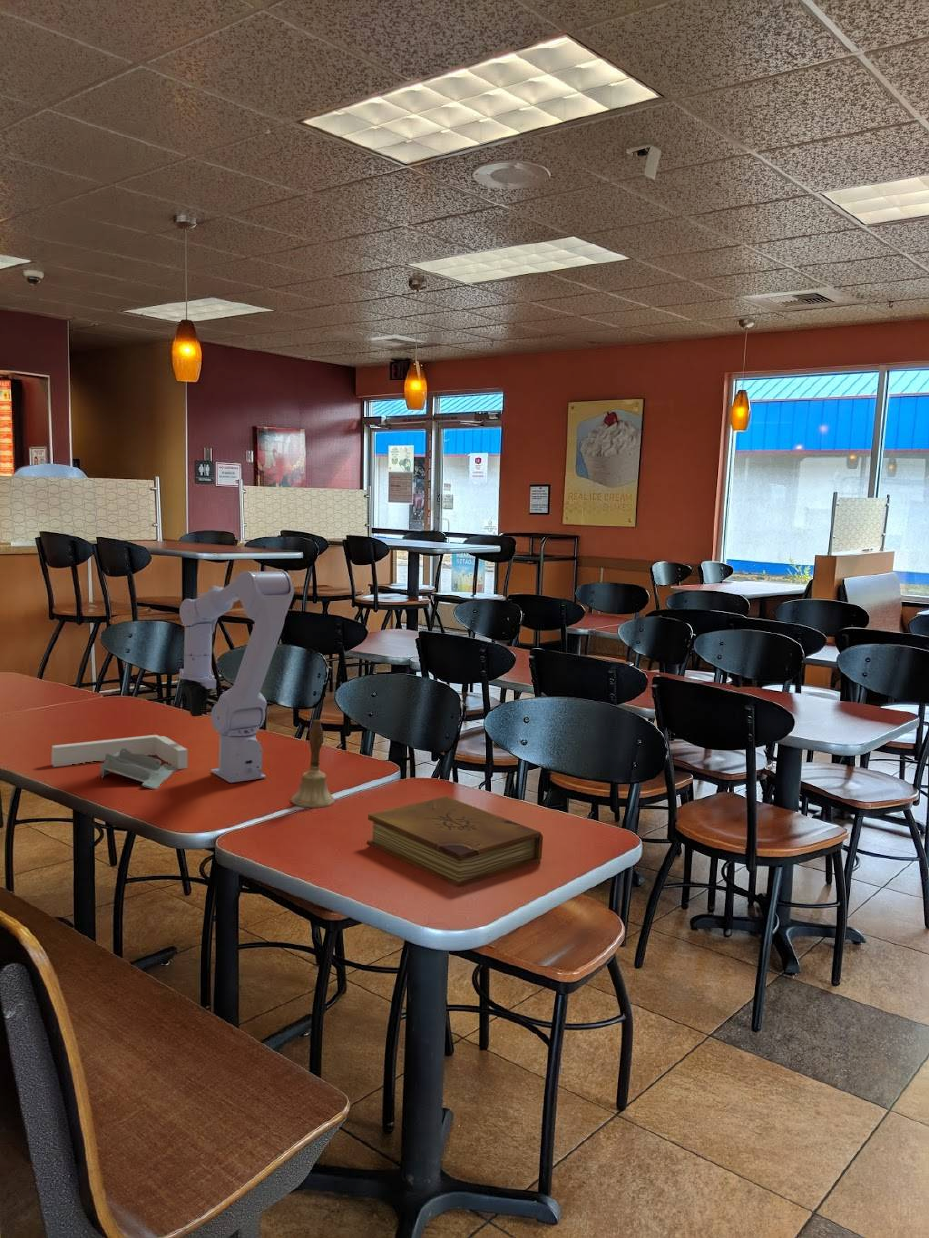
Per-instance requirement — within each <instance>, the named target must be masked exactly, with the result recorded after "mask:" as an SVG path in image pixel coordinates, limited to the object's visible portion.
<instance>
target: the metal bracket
mask: <svg viewBox="0 0 929 1238" xmlns="http://www.w3.org/2000/svg"><path fill="white" fill-rule="evenodd" d="M123 751H124V752H123ZM98 768H100V769H99V771H98V773H100V774H102V775H101V778H102V779H103V778H105V777H106V776H107V775H108V774H109V772H111V773H114V774H118V775H121V776H123V777H127V778H130V779H133V780H136V781H138V782H142V784H141V786H142V787H145V788H148V789H150V790H153V789H157V788H158V787H159V786H160V784H161V783H162V782H163V781H164V780H166V779H167V778H168V777H169V776H170V775H171V774H172V772H173V771H175V772H177V771H178V769H177V767H174V766H172V765H170V764H169V763H163V764H162V759H160V758H156V757H153V756H151V755H150V756H147V755H143V754H132V753H131V752H129V751H128V750H127V749H126V748H123V749H121V751H120V753H119V752H117V753H116V754H114V755H113V756H112V755H110V754H106V757H105V761H103V763H101V764H100V765H99V767H98ZM105 775H106V776H105ZM172 775H173V774H172ZM172 775H171V776H172ZM104 776H105V777H104ZM171 776H170V777H171ZM170 777H169V778H170ZM101 778H100V779H101ZM167 780H168V779H167ZM167 780H166V781H167ZM160 787H161V786H160ZM160 787H159V788H160ZM159 788H158V789H159ZM158 789H157V790H158Z"/></svg>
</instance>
